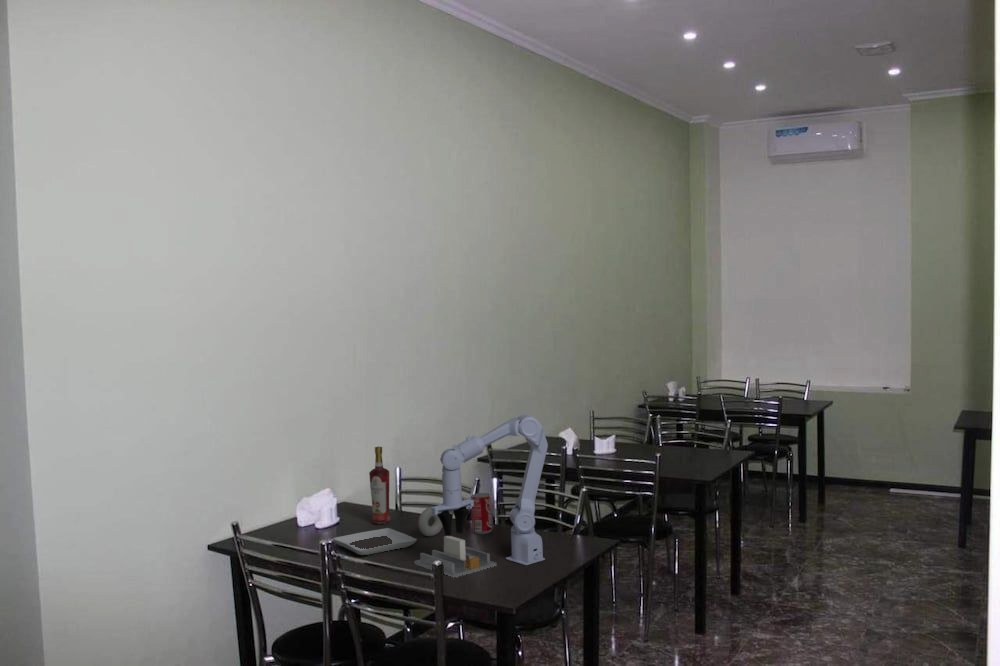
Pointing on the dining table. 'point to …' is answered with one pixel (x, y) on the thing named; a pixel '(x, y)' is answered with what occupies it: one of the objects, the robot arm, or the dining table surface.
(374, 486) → the liquor
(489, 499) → the soda can
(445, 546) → the panel
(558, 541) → the dining table surface
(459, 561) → the rack
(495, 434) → the robot arm
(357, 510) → the dining table surface
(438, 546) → the dining table surface
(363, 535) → the salad plate
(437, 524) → the donut
